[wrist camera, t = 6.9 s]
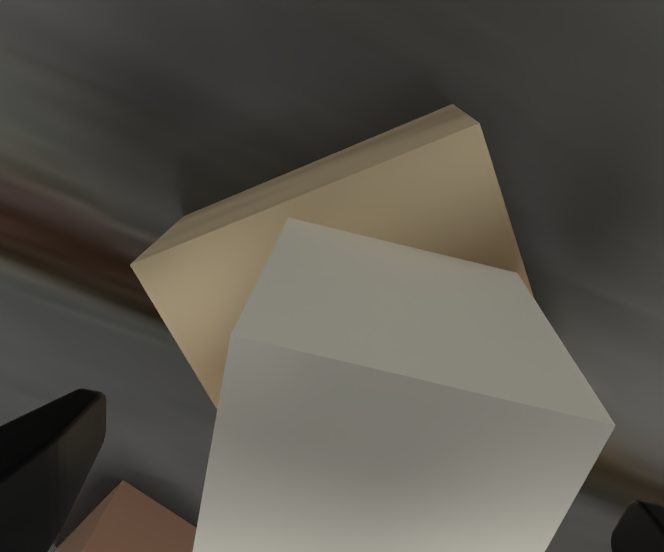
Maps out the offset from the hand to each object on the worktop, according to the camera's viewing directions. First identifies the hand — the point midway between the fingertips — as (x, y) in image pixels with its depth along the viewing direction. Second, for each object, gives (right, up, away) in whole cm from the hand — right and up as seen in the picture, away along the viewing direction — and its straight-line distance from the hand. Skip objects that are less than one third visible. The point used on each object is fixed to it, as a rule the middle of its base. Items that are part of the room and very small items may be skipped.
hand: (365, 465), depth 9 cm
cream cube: (0, +2, +3) cm, 4 cm away
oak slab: (0, +3, +7) cm, 8 cm away
